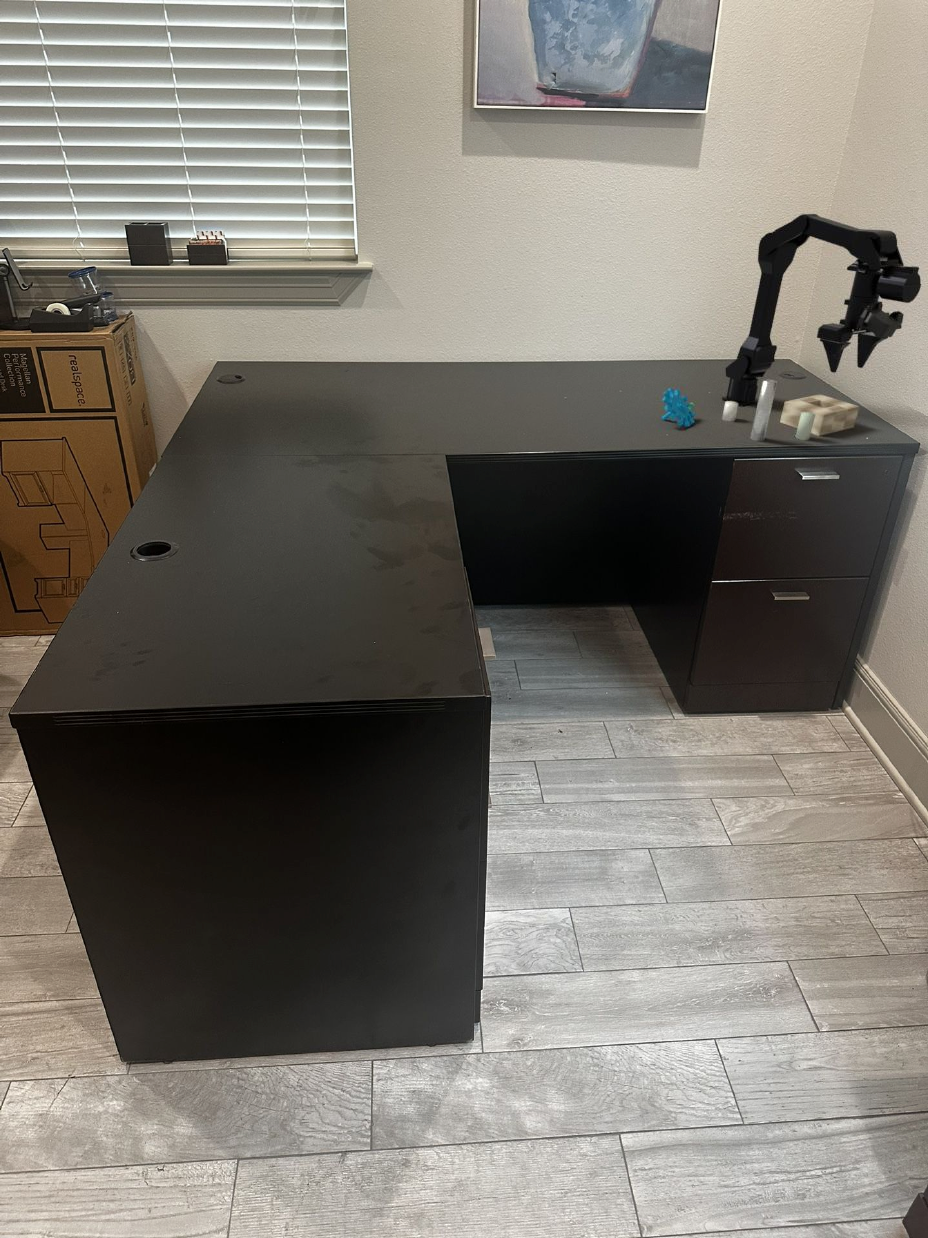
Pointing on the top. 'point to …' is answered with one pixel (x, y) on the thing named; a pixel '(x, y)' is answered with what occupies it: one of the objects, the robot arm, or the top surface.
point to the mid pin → (805, 426)
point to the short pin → (730, 411)
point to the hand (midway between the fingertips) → (846, 369)
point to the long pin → (763, 410)
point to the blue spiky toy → (678, 408)
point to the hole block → (821, 413)
